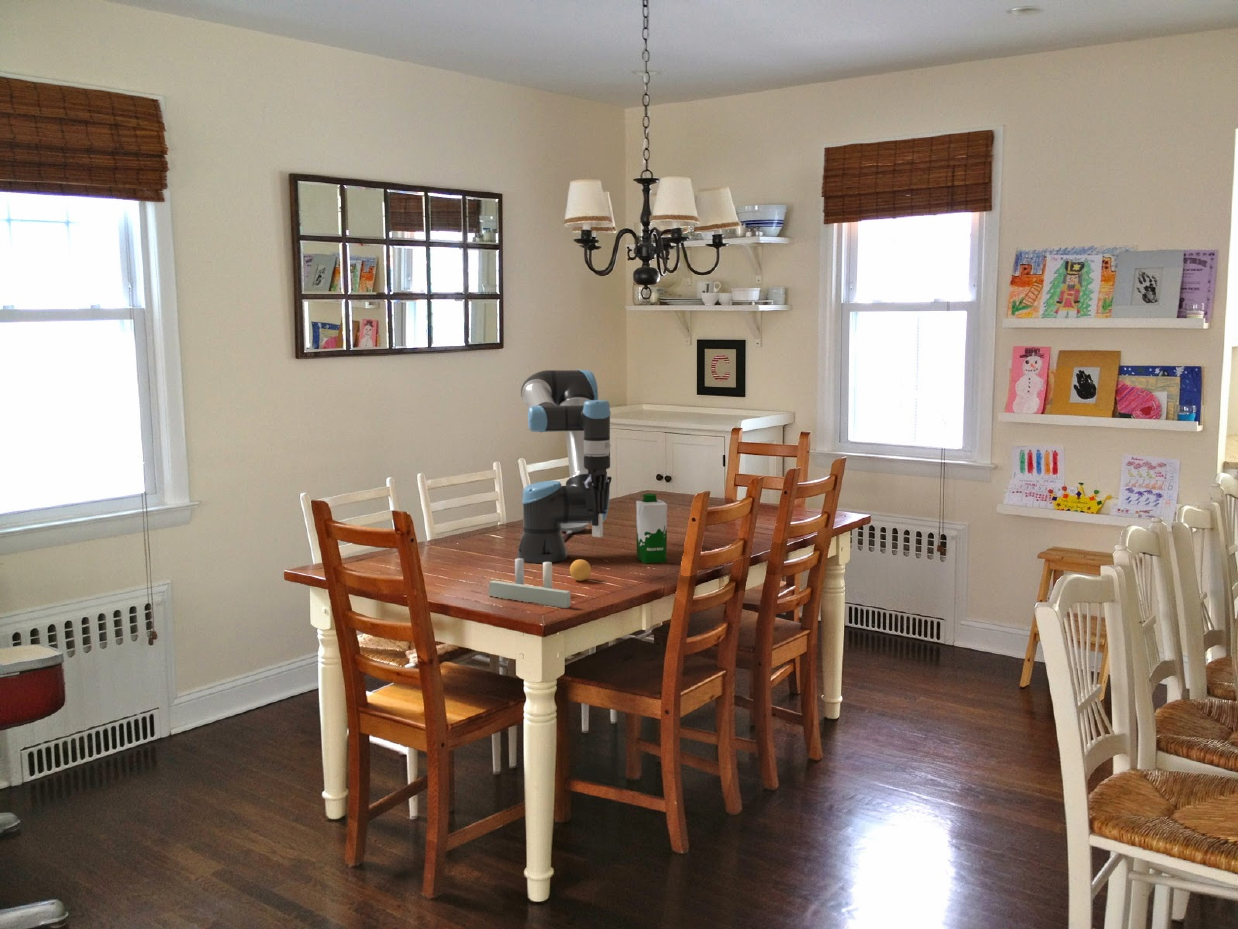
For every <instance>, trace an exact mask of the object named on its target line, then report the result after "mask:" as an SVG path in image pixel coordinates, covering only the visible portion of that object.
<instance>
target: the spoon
mask: <svg viewBox="0 0 1238 929" xmlns="http://www.w3.org/2000/svg"><path fill="white" fill-rule="evenodd" d="M589 524H590V523H568V524H561V532H565V534H564V535H562V537H563V540H564V543H565V542H566V541H567V540H568V538H569V536H570V535H572V534H576V533H580V532H582V531H583V530H585V529H586V528H587V527H588V525H589Z"/></svg>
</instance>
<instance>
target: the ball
mask: <svg viewBox="0 0 1238 929" xmlns="http://www.w3.org/2000/svg"><path fill="white" fill-rule="evenodd" d="M569 573H570V576H571V577H572V578H573V579H574V580H576V581H578V582H581V581H585V580H587V579H588V578H589V577H590V576H591V573H592V567H591V564H590V563H589V562H588V561H587V560H585V559H576V560H574V561H573V562H572V563H571V564H570V566H569Z"/></svg>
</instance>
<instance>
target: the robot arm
mask: <svg viewBox="0 0 1238 929" xmlns="http://www.w3.org/2000/svg"><path fill="white" fill-rule="evenodd" d="M520 396H521V398H522V401H523V403H524V404H525V405H526V406H527V407H529V408H528V411H527V426H528V429H529V431H531V432H536V433H549V432H550V433H551V432H553V433H554V432H565V440H566V450H567V459H568V460H567V461H568V462H567V463H568V472H569V478H567V480H566V481H565V485H562V483H561V481H559V480H545V481H539V482H538V481H537V482H535V483H531V484H528V485H526V486H525V487H524V489H523V491H522V501H521V502H522V503H521V504H522V531H523V532H522V536H521V540H520V542H519V547H518V549H517V558H523V559H524V563H525V562H526V563H534V564H543V562H552V563H557V562H563V561H565V560H567V559H568V550H567V547H566V543H565V542H564V540H563V535H562V530H561V524H568V523H589V524H591V536H592V537H593V538H594V537H595V538H602V537H604V527H603V526H604V521H606V519H607V517H608V513H609V507H610V495H611V493H610V487H611V482H612V476H608V471H607V470H608V469H610V468H611V456H610V453H611V412H612V411H611V410H610V408H611V407H610V404H611V403H610V402H609V401H608V400H604V399H603V400H602V399H599V391H598V382H597V379H596V376H595V374H594V372H592V371H591V370H586V369H580V368H578V369H572V370H571V369H569V370H568V369H563V370H562V369H561V370H558V369H557V370H556V369H555V370H553V369H546V370H541V371H538V372H535V373H533V374H531V375H529V377H527V379H525V381H524V382H523V383H522V385H521V388H520Z"/></svg>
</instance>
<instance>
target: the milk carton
mask: <svg viewBox="0 0 1238 929" xmlns="http://www.w3.org/2000/svg"><path fill="white" fill-rule="evenodd" d="M635 504H636V556H637V557H636V558H637V559H638V561H640V562H641V563H643V564H659V563H667V551H668V550H667V548H668V547H667V545H668V544H667V542H668V537H667V536H668V530H667V529H668V526H667V525H668V503H666V502H665V501H663V500H660V499H657V494H656V493H644V494H642V500H641V499H640V500H636V503H635Z"/></svg>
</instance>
